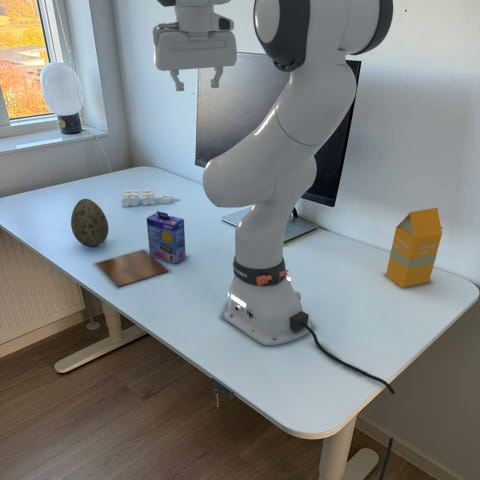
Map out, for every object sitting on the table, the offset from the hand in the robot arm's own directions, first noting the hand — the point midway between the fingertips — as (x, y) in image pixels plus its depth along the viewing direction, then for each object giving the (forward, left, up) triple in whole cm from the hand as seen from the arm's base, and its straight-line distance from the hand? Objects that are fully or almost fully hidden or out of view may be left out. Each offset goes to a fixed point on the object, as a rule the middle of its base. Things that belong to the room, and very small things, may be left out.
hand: (197, 89), depth 112 cm
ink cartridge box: (+5, +10, -46) cm, 47 cm away
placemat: (+4, +22, -46) cm, 51 cm away
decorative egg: (+24, +27, -46) cm, 59 cm away
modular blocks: (+51, -1, -46) cm, 69 cm away
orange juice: (-40, -43, -46) cm, 74 cm away
